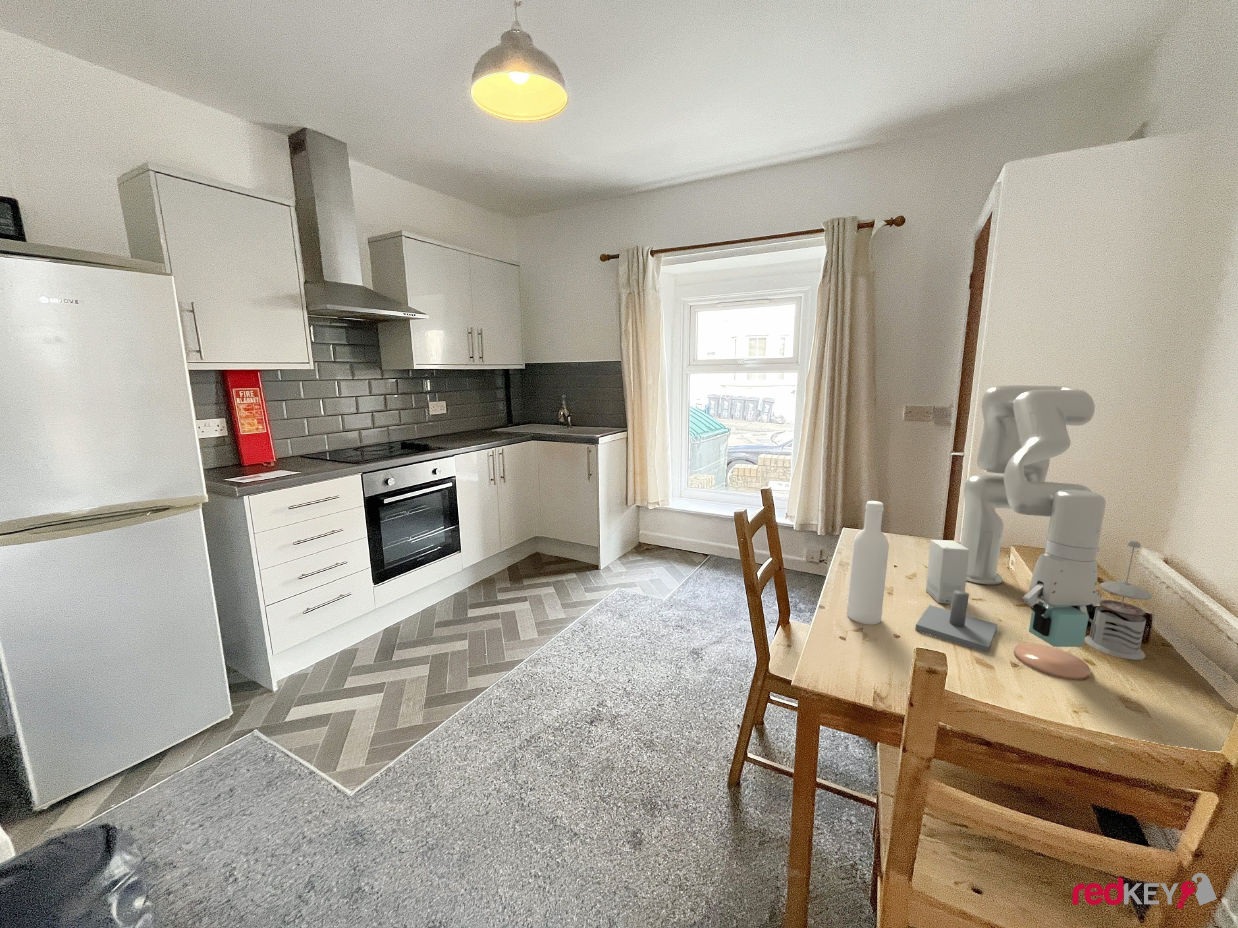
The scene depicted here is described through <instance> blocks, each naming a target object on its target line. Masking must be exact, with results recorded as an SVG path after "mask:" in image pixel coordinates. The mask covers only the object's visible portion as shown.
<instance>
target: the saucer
mask: <svg viewBox="0 0 1238 928" xmlns="http://www.w3.org/2000/svg"><path fill="white" fill-rule="evenodd" d="M1013 655H1014V656H1015V658H1016V659H1017V660H1018V661H1020V662H1021V663H1022V664H1024V665H1025V666H1026V667H1028V668H1031V669H1033V670H1035V671H1036V672H1039V673H1042V674H1045V675H1048V676H1051V677H1054V678H1057V679H1063V680H1068V681H1084V680H1087V679H1088V678H1089V677H1090V675H1091V667H1090V666H1089V665H1088V664H1087V662H1085V661H1084V660H1082V659H1081V658H1079V657H1078V656H1075V655H1073V654H1071V653H1069V652H1067V651H1065V650H1062V649H1059V648H1058V647H1054V646H1051V645H1050V646H1049V645H1045V644H1041V643H1033V642H1022V643H1018V644H1016V645H1015V646H1014V649H1013Z"/></svg>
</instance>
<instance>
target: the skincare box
mask: <svg viewBox="0 0 1238 928" xmlns="http://www.w3.org/2000/svg"><path fill="white" fill-rule="evenodd" d="M968 557H969V549H967V548H966V547H964V546H962V545H961V543H959V542H958V541H956V540H952V539H951V540H950V539H949V540H948V539H947V540H946V539H944V540H943V539H942V540H941V539H930V540H929V553H928V564H927V576H926V584H925V585H926V587H925V592H926V591H927V592H928V593H927V592H926V593H927V594H929V596H931V597H932V599H934V601H936V602H937V603H938V604H947V605H952V599H953V591H955V590H960V591H964V592H966V585H967V580H966V577H967V567H968Z"/></svg>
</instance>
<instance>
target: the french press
mask: <svg viewBox="0 0 1238 928" xmlns="http://www.w3.org/2000/svg"><path fill="white" fill-rule="evenodd" d="M1127 546H1129V547H1131V548H1132V551H1131V556H1130V562H1129V565H1128V572H1127V575H1126V580H1125V581H1122V580H1121V581H1119V580H1117V581H1116V580H1112V581H1111V580H1110V581H1109V580H1108V581H1105V582H1101V583H1099V588H1101V590H1103V591H1105V592H1108V593H1110V594H1113V595H1116V596H1119V597H1122V600H1121V601H1118V600H1113V599H1102V595H1103V594H1102V593H1100V591H1099V590H1098V589H1096V593H1097V594H1098V596H1099V597H1100V598H1101V602H1100V603H1098V605H1096V606H1095V610H1094V611H1095V612H1094V617H1093V619H1092V618H1090V617H1089V618H1088V622H1090V623H1091V625H1090V631H1089V635H1087V636H1086V635H1085V639H1084V643H1086V645H1088V646H1090V647H1091V648H1093V649H1094V650H1097V651H1099V652H1102V653H1104V654H1107V655H1110V656H1114V657H1118V658H1121V659H1126V660H1127V659H1129V660H1143V659H1145V658H1146V654H1145V652H1144V651H1143V650H1142V649H1141V646H1142V645H1141V644H1142V640H1143V635H1144V631H1145V626H1146V622H1147V619H1146V618H1145V617H1144V615H1146V612H1145V610H1144V609H1142V608H1140V607H1139V606H1136V605H1134V604H1133V605H1132V604H1130V603H1126V602H1124V601H1125V598H1126V599H1127V598H1128V599H1133V600H1144V601H1145V600H1146V601H1148V600H1150V599H1152V598H1153V595H1152V594H1151V593H1150V592H1149V591H1148V590H1147V589H1145V588H1144V587H1141V586H1139V585H1136V584H1133V583H1131V582H1129V581H1128V580H1129V575H1130V571H1131V565H1132V560H1133V556H1134V555H1133V554H1134V550H1135V548H1136V549H1140V548H1141V547H1142V545H1141V543H1140V542H1138V541H1136V540H1132V541H1129V542H1128V544H1127ZM1102 611H1106V612H1102ZM1107 611H1111V612H1113V613H1110V612H1107ZM1114 613H1115V614H1114ZM1116 614H1118V615H1119V616H1117V615H1116ZM1120 616H1121V617H1123V618H1124V619H1126V620H1124V619H1123V618H1121V617H1120ZM1111 623H1113V624H1115V625H1113V624H1111ZM1112 629H1113V630H1112Z"/></svg>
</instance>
